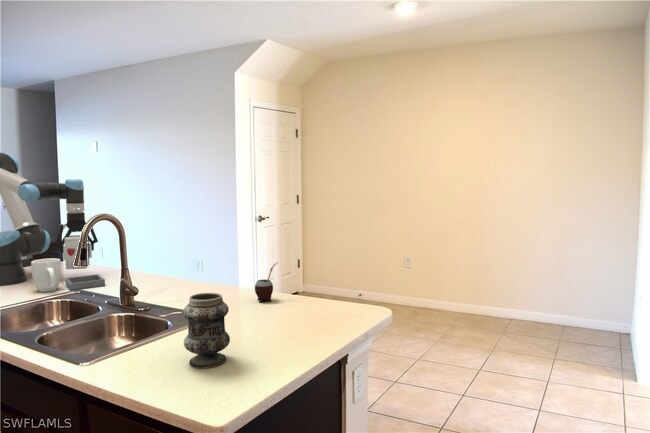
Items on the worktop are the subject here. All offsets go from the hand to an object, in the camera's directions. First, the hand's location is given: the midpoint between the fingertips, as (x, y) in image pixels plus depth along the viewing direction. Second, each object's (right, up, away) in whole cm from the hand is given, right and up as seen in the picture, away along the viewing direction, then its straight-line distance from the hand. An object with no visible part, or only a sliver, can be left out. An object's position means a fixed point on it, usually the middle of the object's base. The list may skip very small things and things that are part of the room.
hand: (77, 258), depth 230 cm
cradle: (+9, -11, -11) cm, 18 cm away
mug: (-2, -12, -20) cm, 24 cm away
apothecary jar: (+86, -19, -99) cm, 132 cm away
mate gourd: (+94, -13, -40) cm, 103 cm away
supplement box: (0, -4, 0) cm, 4 cm away
